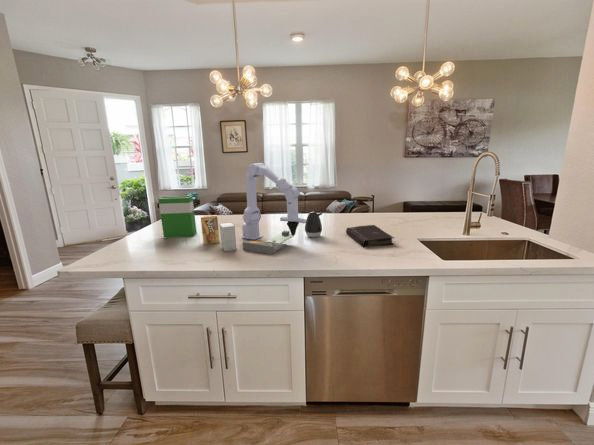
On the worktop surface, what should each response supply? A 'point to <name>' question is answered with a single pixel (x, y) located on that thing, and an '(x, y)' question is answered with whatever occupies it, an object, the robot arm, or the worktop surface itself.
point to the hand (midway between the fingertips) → (293, 234)
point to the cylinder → (258, 242)
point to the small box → (228, 236)
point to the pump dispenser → (313, 224)
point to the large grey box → (262, 247)
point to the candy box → (210, 229)
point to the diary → (369, 236)
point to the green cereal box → (177, 216)
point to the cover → (280, 238)
